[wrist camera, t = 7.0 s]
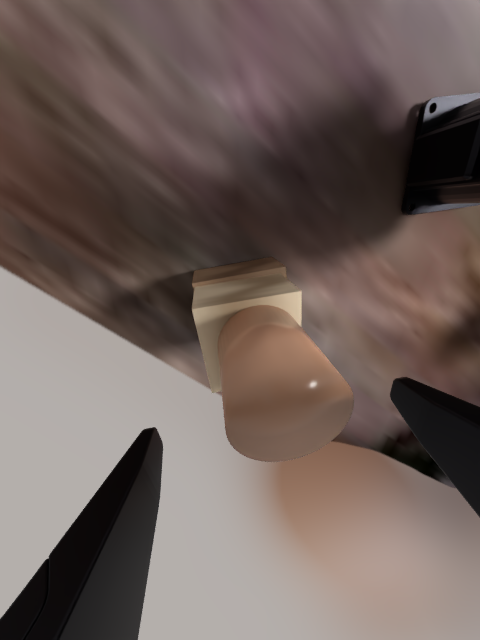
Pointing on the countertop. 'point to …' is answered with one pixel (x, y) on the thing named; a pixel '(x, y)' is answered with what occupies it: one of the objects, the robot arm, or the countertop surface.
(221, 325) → the maple block
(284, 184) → the countertop surface
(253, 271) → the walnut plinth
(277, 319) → the tan rounded piece
